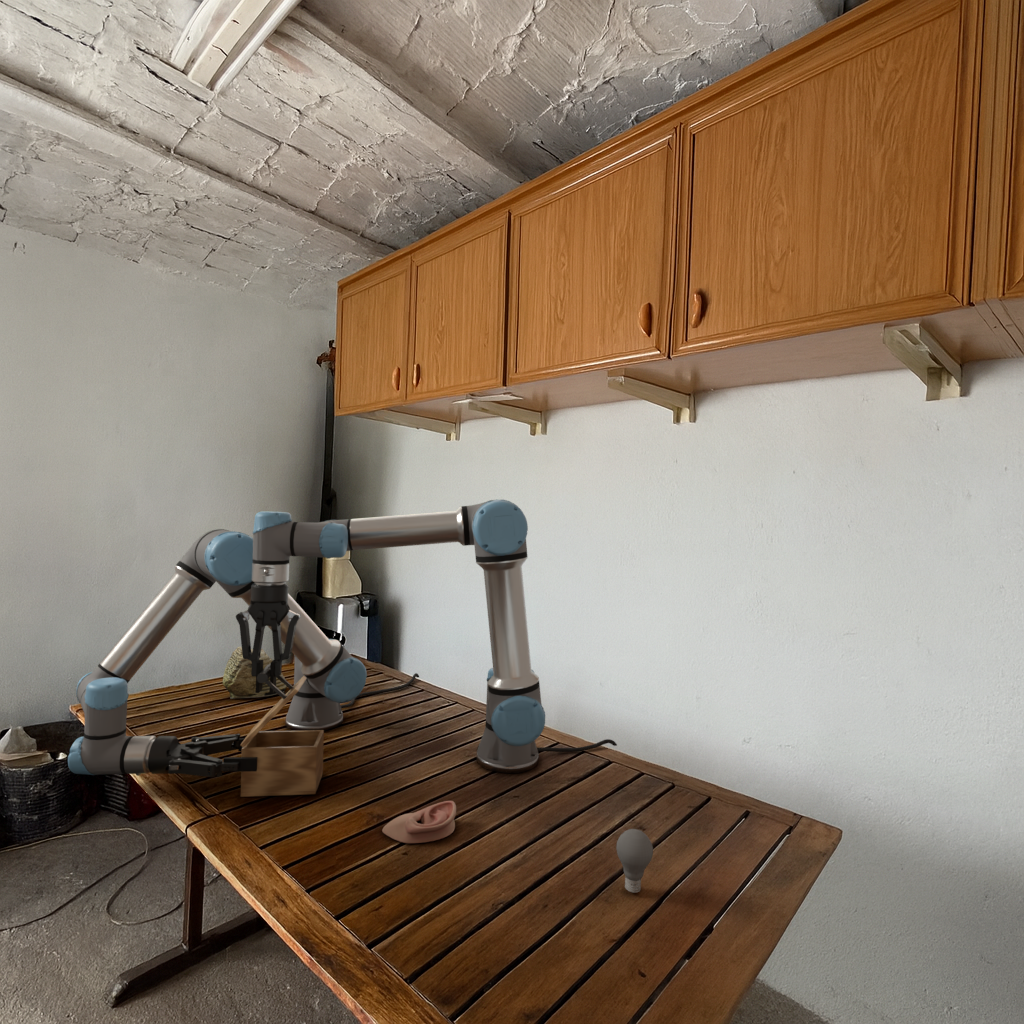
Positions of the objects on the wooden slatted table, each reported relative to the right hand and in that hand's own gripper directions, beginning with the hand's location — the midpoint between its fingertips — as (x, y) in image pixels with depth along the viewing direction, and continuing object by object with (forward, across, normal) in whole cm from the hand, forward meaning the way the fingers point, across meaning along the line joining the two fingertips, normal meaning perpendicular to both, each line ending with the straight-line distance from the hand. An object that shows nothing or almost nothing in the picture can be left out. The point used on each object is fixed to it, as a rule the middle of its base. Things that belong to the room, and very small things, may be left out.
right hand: (265, 690), depth 137 cm
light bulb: (+21, +69, -42) cm, 84 cm away
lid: (+5, +2, 0) cm, 5 cm away
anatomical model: (+21, +34, -20) cm, 45 cm away
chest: (+21, +4, 0) cm, 21 cm away
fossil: (+21, -18, +64) cm, 69 cm away
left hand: (+14, 0, 0) cm, 14 cm away
